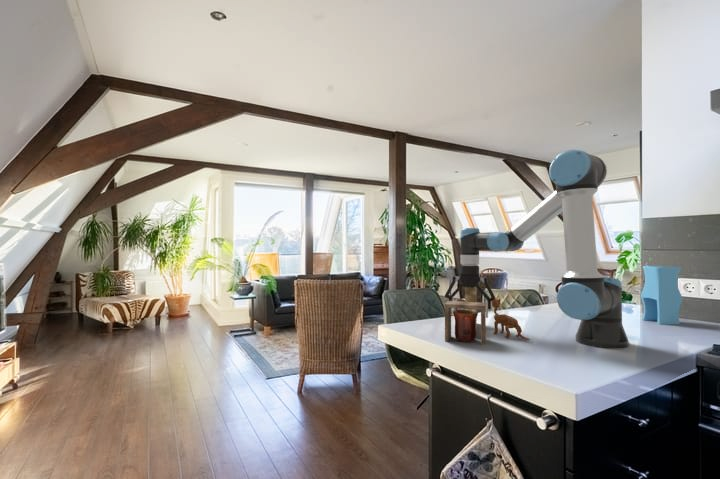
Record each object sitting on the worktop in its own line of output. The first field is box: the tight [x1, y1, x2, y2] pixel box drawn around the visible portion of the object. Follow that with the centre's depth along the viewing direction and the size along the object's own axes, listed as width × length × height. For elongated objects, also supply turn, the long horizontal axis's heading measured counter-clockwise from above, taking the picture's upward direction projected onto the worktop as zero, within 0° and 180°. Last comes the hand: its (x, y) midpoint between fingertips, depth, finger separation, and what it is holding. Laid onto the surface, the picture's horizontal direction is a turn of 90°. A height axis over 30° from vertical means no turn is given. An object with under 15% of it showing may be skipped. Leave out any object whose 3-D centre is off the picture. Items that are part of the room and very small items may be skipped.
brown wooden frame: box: [444, 300, 487, 346], centre depth 130 cm, size 13×8×13 cm, turn 69°
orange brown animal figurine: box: [491, 296, 531, 341], centre depth 135 cm, size 18×7×14 cm, turn 22°
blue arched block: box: [640, 265, 683, 325], centre depth 158 cm, size 10×10×25 cm
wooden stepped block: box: [464, 287, 478, 325], centre depth 149 cm, size 4×25×20 cm, turn 160°
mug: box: [453, 309, 479, 343], centre depth 129 cm, size 12×9×10 cm
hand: (469, 316), depth 151 cm, fingers open, 13 cm apart
